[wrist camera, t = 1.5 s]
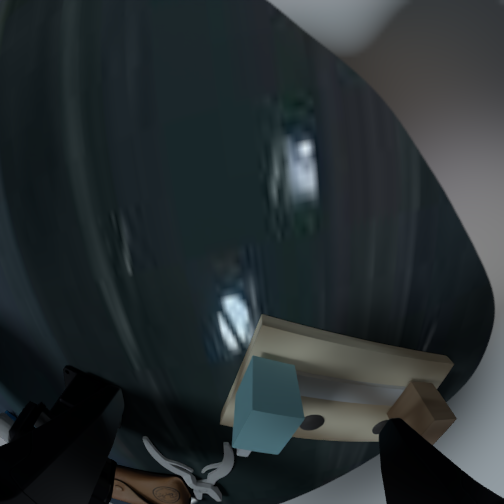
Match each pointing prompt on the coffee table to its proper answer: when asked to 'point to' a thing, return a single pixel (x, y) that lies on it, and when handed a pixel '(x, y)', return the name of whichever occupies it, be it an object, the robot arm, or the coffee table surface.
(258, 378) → the teal block
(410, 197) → the coffee table surface
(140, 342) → the coffee table surface
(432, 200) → the coffee table surface
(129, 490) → the sunglasses case
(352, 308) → the coffee table surface
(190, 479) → the pliers
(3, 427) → the electric motor
